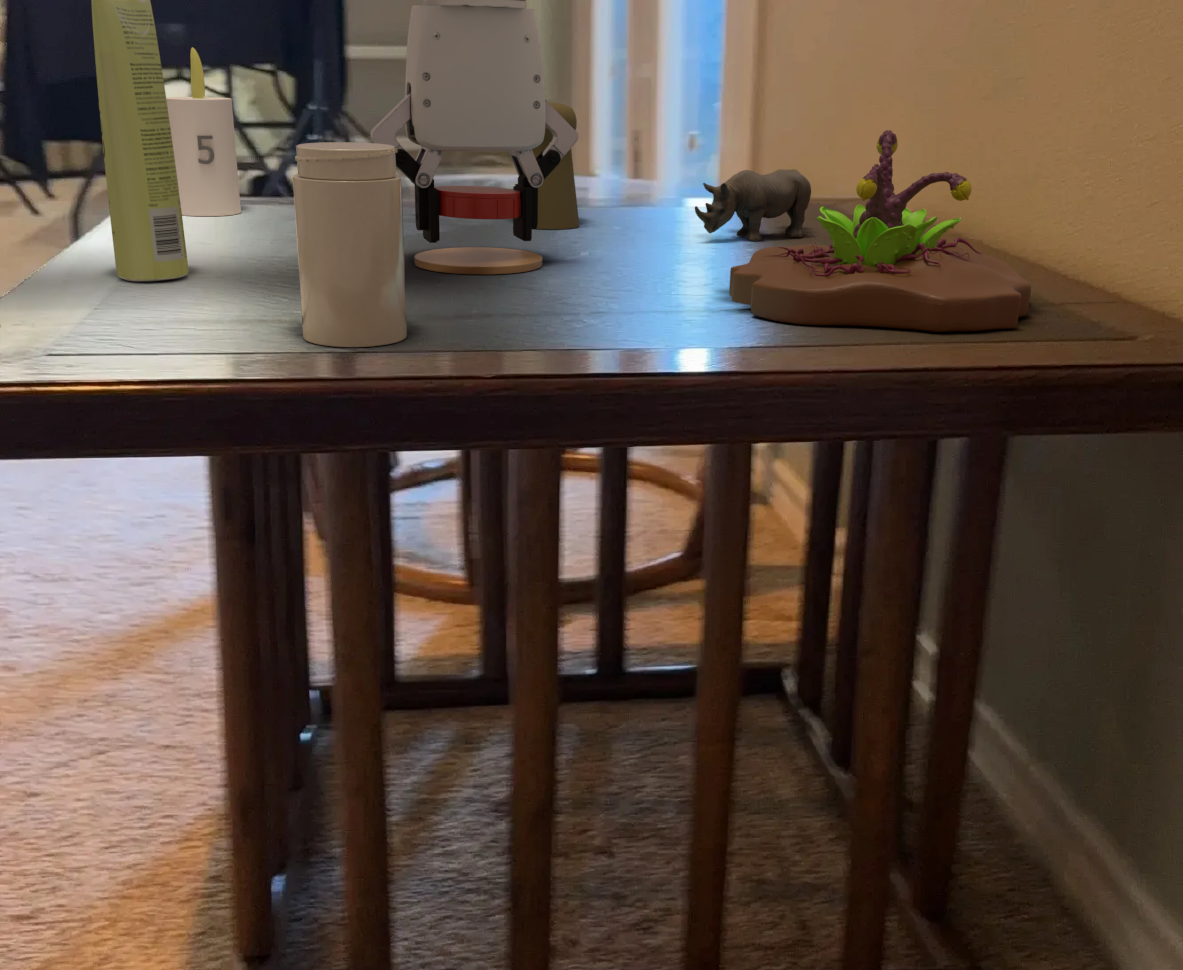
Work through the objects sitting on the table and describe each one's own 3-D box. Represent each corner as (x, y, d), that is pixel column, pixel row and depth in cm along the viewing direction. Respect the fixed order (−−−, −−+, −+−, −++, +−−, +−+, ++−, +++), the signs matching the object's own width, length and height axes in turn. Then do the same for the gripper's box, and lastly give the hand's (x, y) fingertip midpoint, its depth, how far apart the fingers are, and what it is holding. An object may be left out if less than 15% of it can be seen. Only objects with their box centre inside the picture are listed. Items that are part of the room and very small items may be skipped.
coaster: (421, 275, 96) (421, 267, 95) (408, 255, 105) (408, 247, 104) (553, 273, 98) (553, 265, 98) (530, 253, 107) (530, 246, 106)
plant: (1011, 287, 96) (1034, 128, 92) (1039, 340, 79) (1070, 146, 74) (744, 272, 100) (754, 119, 96) (714, 320, 82) (725, 134, 78)
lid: (507, 210, 103) (508, 186, 103) (529, 219, 98) (530, 194, 97) (425, 209, 101) (425, 184, 101) (443, 218, 96) (443, 192, 95)
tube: (106, 273, 93) (68, -25, 86) (176, 268, 96) (145, -22, 88) (127, 285, 89) (90, -28, 81) (200, 280, 92) (170, -24, 84)
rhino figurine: (677, 239, 116) (680, 170, 114) (790, 231, 124) (795, 165, 121) (705, 245, 113) (709, 174, 111) (820, 236, 121) (826, 169, 118)
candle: (177, 217, 123) (160, 46, 117) (172, 209, 129) (155, 46, 123) (245, 215, 125) (231, 48, 119) (237, 207, 131) (223, 47, 125)
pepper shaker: (559, 230, 120) (560, 104, 116) (504, 225, 123) (504, 102, 118) (590, 224, 125) (593, 103, 121) (537, 219, 128) (538, 100, 123)
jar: (304, 348, 72) (291, 149, 68) (302, 327, 78) (289, 141, 73) (411, 345, 74) (405, 150, 69) (402, 325, 79) (395, 142, 75)
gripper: (574, -8, 99) (569, 231, 106) (347, -17, 94) (358, 234, 101) (604, -11, 93) (597, 244, 100) (362, -21, 88) (373, 248, 95)
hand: (477, 237), depth 100 cm, fingers closed on lid, 6 cm apart
